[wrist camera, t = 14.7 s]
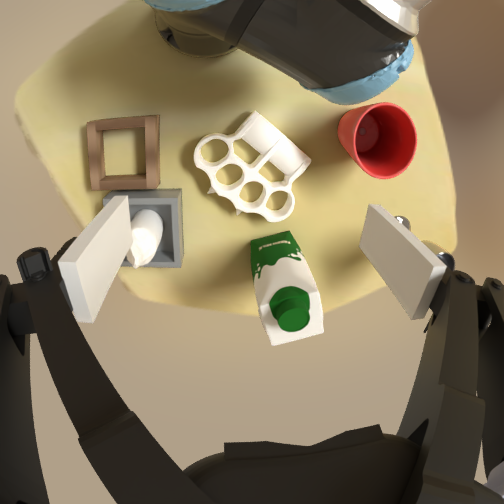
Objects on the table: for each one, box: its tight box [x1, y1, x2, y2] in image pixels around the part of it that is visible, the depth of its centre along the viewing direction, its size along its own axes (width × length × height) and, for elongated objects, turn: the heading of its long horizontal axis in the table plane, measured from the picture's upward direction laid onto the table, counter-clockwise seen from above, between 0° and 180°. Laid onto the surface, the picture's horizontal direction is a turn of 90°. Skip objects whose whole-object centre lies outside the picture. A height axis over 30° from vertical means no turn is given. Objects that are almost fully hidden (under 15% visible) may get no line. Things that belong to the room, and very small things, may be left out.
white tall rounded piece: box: [126, 209, 164, 269], centre depth 43 cm, size 6×12×6 cm
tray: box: [103, 189, 184, 268], centre depth 47 cm, size 12×12×4 cm
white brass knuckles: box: [194, 110, 311, 222], centre depth 45 cm, size 3×18×15 cm
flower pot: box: [338, 102, 417, 179], centre depth 39 cm, size 11×11×10 cm
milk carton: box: [251, 231, 324, 346], centre depth 45 cm, size 9×9×20 cm
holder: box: [87, 115, 160, 191], centre depth 41 cm, size 11×11×3 cm
